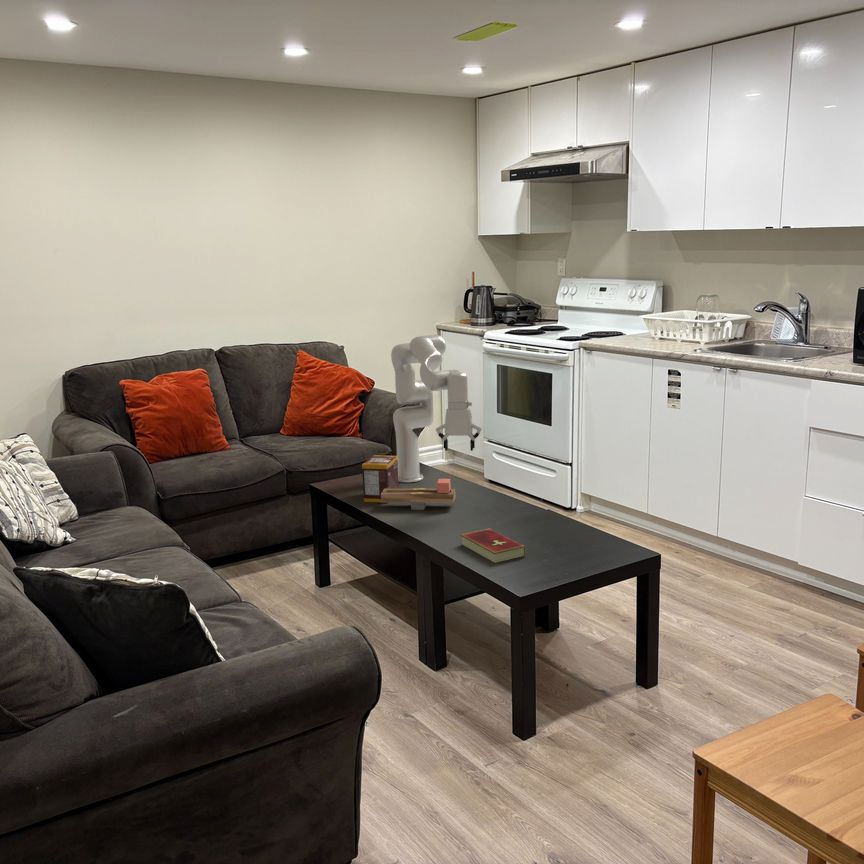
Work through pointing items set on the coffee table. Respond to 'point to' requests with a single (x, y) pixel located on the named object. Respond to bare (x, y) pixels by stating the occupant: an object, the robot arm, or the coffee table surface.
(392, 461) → the supplement box
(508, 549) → the hardcover book
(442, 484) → the block
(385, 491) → the beam
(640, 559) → the coffee table surface
